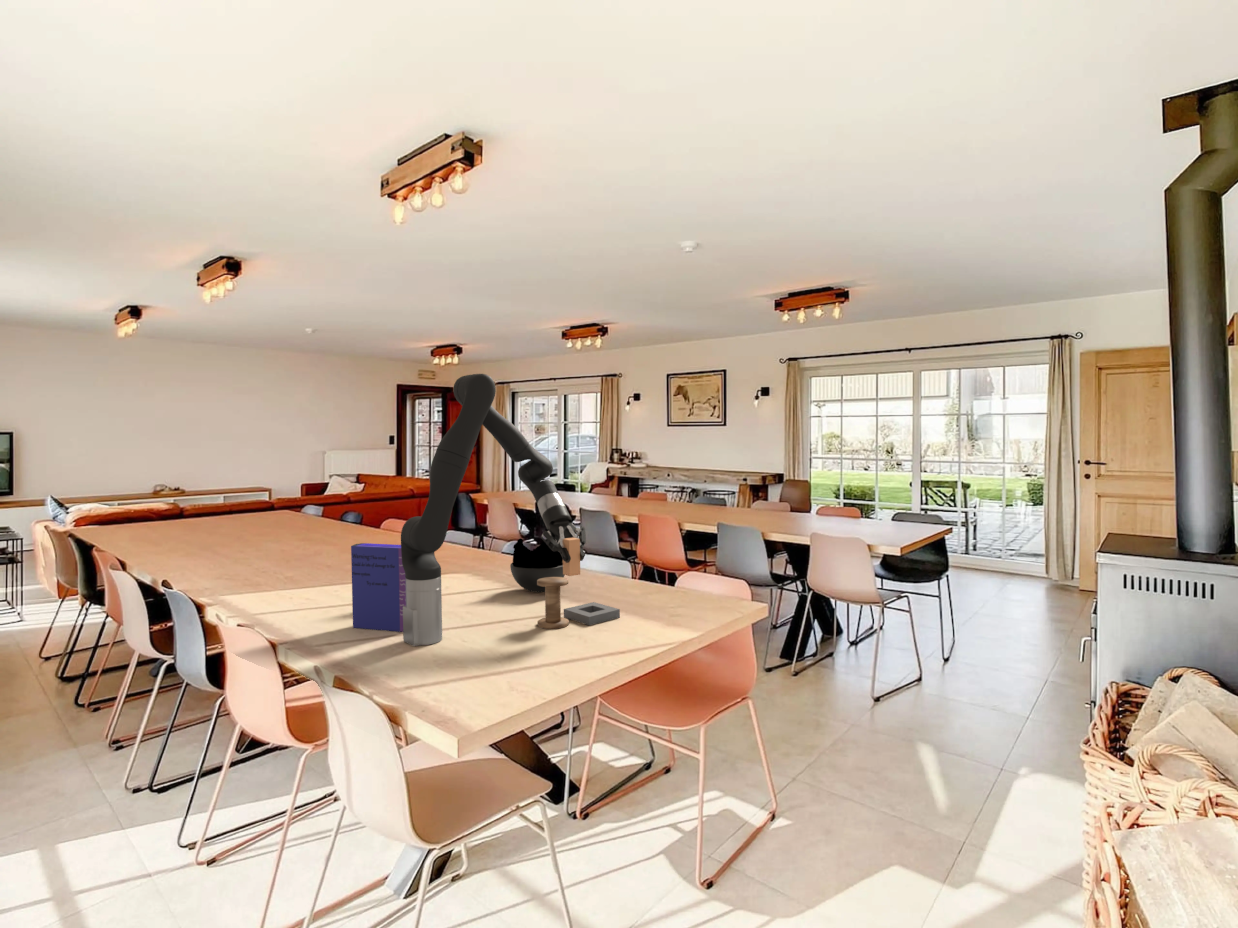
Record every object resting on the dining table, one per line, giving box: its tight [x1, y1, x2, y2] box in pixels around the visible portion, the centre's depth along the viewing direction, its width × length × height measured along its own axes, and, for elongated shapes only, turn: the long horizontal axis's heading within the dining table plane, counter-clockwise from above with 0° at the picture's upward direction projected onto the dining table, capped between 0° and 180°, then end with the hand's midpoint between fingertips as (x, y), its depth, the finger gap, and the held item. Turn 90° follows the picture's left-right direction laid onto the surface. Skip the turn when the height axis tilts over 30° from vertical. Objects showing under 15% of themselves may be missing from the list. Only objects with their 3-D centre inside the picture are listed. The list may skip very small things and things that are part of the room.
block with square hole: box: [563, 601, 621, 626], centre depth 195 cm, size 12×12×2 cm
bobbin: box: [537, 577, 570, 630], centre depth 188 cm, size 9×9×13 cm
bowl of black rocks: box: [509, 538, 566, 593], centre depth 228 cm, size 20×20×19 cm
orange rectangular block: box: [563, 537, 581, 577], centre depth 181 cm, size 4×4×10 cm
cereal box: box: [350, 542, 406, 633], centre depth 185 cm, size 17×5×24 cm, turn 74°
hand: (575, 559), depth 179 cm, fingers closed on orange rectangular block, 3 cm apart
